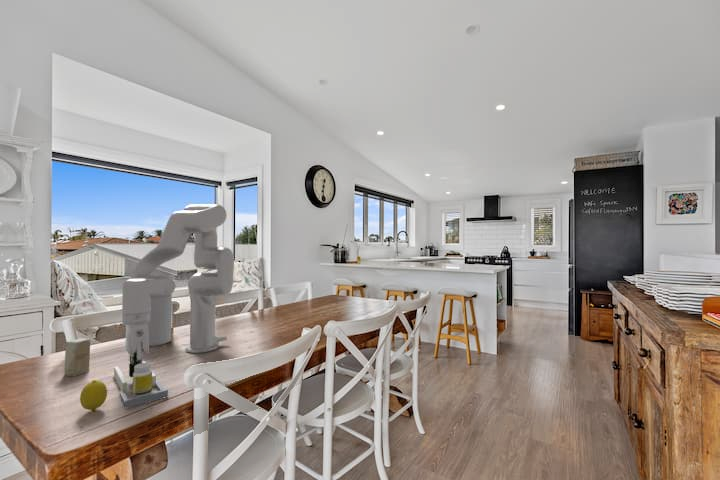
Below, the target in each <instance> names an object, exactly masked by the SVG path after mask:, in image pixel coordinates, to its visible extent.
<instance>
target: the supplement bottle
mask: <svg viewBox="0 0 720 480" xmlns="http://www.w3.org/2000/svg"><path fill="white" fill-rule="evenodd" d="M151 367H152V366H151V363H150V362H146V363H140V364H137V365H135V366H134V371H135V372H134V373H133V377H132V396H133V397H137V396H141V395H145V394H149V393H153V386H152V371H153V370H152V369H151ZM150 369H151V370H150Z"/></svg>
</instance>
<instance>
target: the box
mask: <svg viewBox="0 0 720 480" xmlns="http://www.w3.org/2000/svg"><path fill="white" fill-rule="evenodd" d="M90 350H91V338H84V337H79V338H77V339H73V340H69V341H66V342H65V351H64V352H65V353H64V354H65V356H64V357H65V358H64V374H63V375H64V376H68V377H69V376H70V377H76V376H79V375H83V374H85V373H88V372H89V371H90V356H91V355H90V354H91V353H90V352H91V351H90Z"/></svg>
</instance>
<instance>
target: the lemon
mask: <svg viewBox="0 0 720 480" xmlns="http://www.w3.org/2000/svg"><path fill="white" fill-rule="evenodd" d="M79 395H80V396H79V402H80V404H81V406H82V408H84V409H86V410H89V411H92V412H94V411H96V410H97V409H98V408H100V407H101V406H102V405H103V404H104V402H106V400H107V396H108V390H107V386H106V384H105V383H104V382H103V381H100V380H96V379H93V380H92V381H90V382H88V383H87V384H86V385H85V386H84V387H83V388H82V389H81V392H80V394H79Z"/></svg>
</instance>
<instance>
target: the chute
mask: <svg viewBox="0 0 720 480" xmlns="http://www.w3.org/2000/svg"><path fill="white" fill-rule="evenodd" d="M142 363H147V362H146V361H145V360H142ZM113 370H114V371H113V377H114V379H115V381H116V383H117V386H118V387H119V389H120V391H124V392H125V394H126V393H128V392H127V391H128V390H127V389H128V382H127V380H126V378H125V376H124V375H123V373H122V371H121V369H120V367H119V366H113ZM150 370H152V369H151V368H150ZM155 383H157V374H155V372H154V371H153V370H152V387H156V386H155Z"/></svg>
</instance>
